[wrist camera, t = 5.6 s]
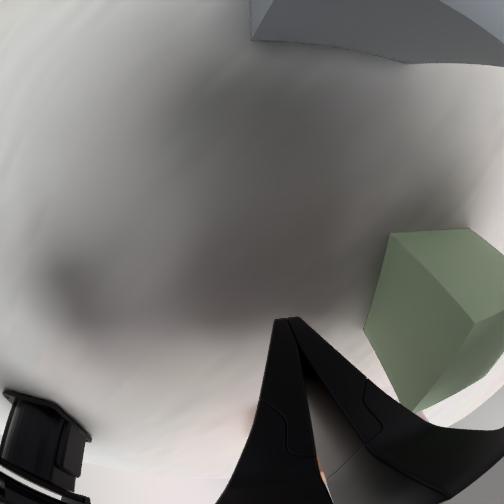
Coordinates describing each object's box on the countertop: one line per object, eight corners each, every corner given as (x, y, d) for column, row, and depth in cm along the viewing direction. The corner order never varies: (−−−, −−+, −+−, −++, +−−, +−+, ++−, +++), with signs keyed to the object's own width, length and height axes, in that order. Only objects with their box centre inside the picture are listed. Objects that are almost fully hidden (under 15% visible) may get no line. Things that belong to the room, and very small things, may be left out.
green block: (362, 328, 12) (406, 416, 8) (388, 231, 9) (475, 323, 5) (437, 309, 12) (485, 376, 8) (468, 227, 10) (540, 289, 5)
